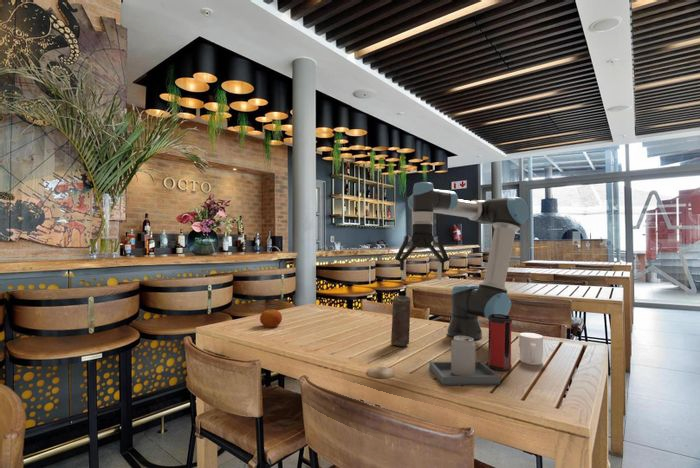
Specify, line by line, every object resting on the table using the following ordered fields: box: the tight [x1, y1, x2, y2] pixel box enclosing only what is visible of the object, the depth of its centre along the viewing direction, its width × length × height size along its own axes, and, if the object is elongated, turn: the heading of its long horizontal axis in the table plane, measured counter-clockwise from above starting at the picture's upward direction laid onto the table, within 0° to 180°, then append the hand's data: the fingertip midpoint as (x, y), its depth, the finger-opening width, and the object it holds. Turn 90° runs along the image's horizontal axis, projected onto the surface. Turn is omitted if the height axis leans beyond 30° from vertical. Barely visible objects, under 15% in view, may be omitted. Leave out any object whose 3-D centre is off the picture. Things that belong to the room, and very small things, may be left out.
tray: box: [428, 360, 501, 387], centre depth 121 cm, size 18×14×3 cm
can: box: [450, 336, 477, 376], centre depth 121 cm, size 8×8×12 cm
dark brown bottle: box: [390, 295, 412, 347], centre depth 155 cm, size 8×7×20 cm
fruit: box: [259, 309, 283, 328], centre depth 184 cm, size 11×10×8 cm
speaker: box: [486, 314, 513, 372], centre depth 130 cm, size 8×8×18 cm
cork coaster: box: [366, 366, 396, 379], centre depth 123 cm, size 9×9×1 cm
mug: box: [518, 332, 544, 366], centre depth 138 cm, size 12×9×8 cm
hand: (421, 279), depth 143 cm, fingers open, 13 cm apart
